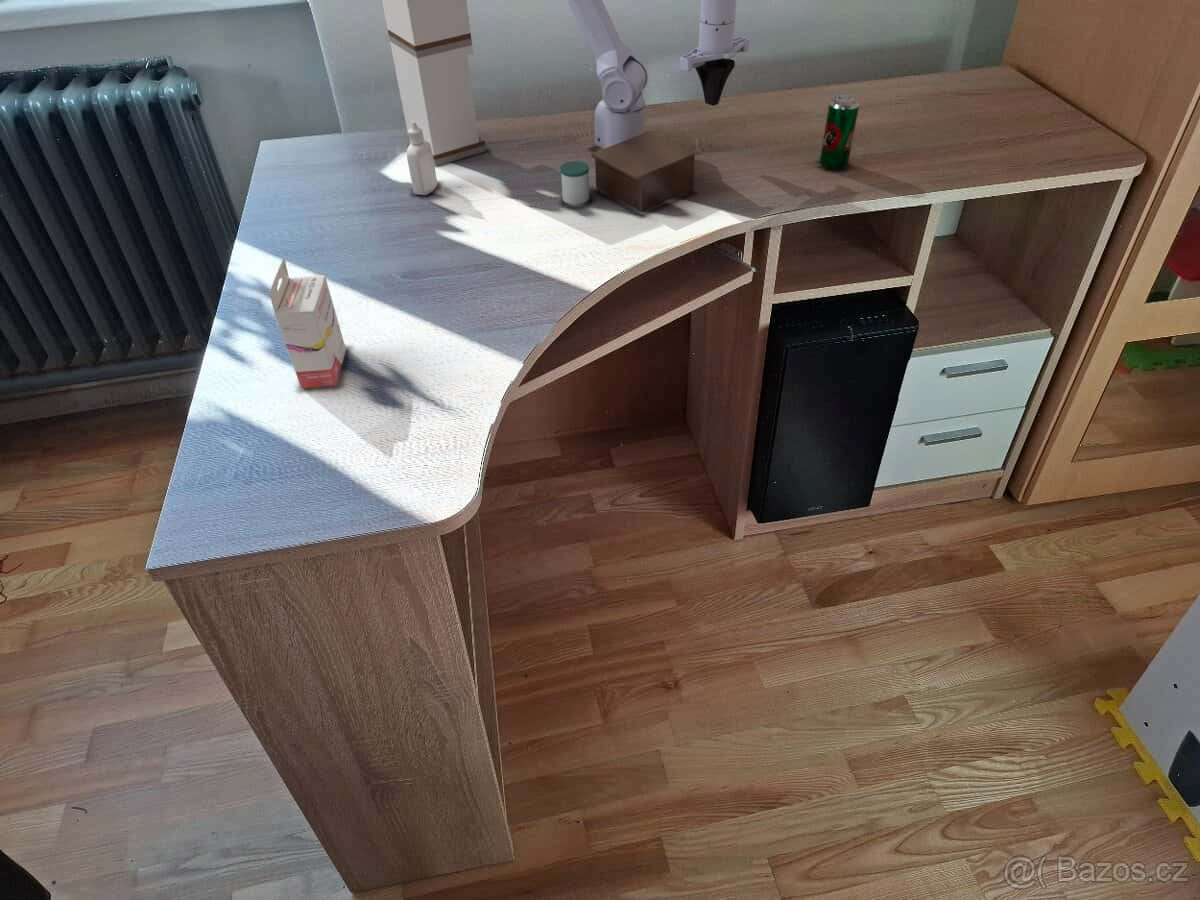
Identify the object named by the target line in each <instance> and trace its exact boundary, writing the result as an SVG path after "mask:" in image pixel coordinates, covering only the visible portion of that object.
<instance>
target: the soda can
mask: <svg viewBox="0 0 1200 900" xmlns="http://www.w3.org/2000/svg"><path fill="white" fill-rule="evenodd" d="M859 109H860V104H859V98H858V97H857V96H856V95H854V94H850V93H838V94H835V95H833V96H832V98H831V100H830V101H829V103H828V109H827V115H826V121H825V126H824V132H823V138H822V144H821V151H820V157H819V164H820V166H821V167H822V168H823V169H826V170H829V171H841V170H844V169H845V168H846V167H847V166H848V165H849V161H850V156H851V151H852V146H853V141H854V135H855V129H856V124H857V119H858V114H859Z"/></svg>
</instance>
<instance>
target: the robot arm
mask: <svg viewBox="0 0 1200 900" xmlns="http://www.w3.org/2000/svg"><path fill="white" fill-rule="evenodd" d="M566 2H567V4H568V6H569V9H570V10H571V12H572V14H573V16H574V18H575V20H576V22H577V24H578V27H579V28H580V30H581V32H582V34H583V36H584V38H585V40H586V41H587V44H588V46H589V48H590V49H591V52H592V54H593V57H594V58H595V60H596V76H597V79H598V81H599V83H600V86H601V97H602V99H601V100H600V101H599V102H598V104H597V106H596V107H595V111H594V117H593V118H594V119H593V120H594V145H595V146H597V147H599V148H601V149H605V148H607V147H610V146H612V145H615V144H617V143H620V142H623V141H625V140H628V139H630V138H633V137H635V136H638V135H641V134H643V133H646V132H645V131H646V129H645V128H646V100H645V98H644V95H643V93H642V92H643V90H644V89H645V88H646V86H647V83H648V79H649V76H648V75H649V73H648V70H647V68H646V65H644V63H643V62H642V61H640V60H639V59H638V58H637V57H636V56H635V54H634V52H633V50H632V48H631V47H630V46H628V45H626V44H625V43H624V42H623V41H622V39H621V37H620V35H619V33H618V31H617V28H616V26H615V24H614V22H613V20H612V17H611V16H610V14H609V12H608V9H607V7H606V5H605V3H604V1H603V0H566ZM736 10H737V0H700V11H699V14H700V15H699V29H698V31H699V32H698V46H696V47H695V48H694V49H692V50H690V52H688V53H686V54H685V55H683V56H680V58H679V69H680V70H681V71H684V72H687V73H689V72H692V71H693V69H695V71H696V73H697V75H698V78H699V79H700V84H701V87H702V92H703V98H704V103H705V104H707V105H709V106H712V107H714V106H716V105H719V103H720V99H721V96H722V95H723V94H722V93H723V90H724V88H725V85H726V82H727V80H728V78H729V76H730V75H731V73H732V71H733V70H734V68H735V67H736V66H735V65H736V61H735V60H734V59H733V58H736V54H738V53H739V54H740V53H741V52H742V53H746V52H749V46H750V39H749V38H747V37H743V36H739V37H735V38H734V36H735V35H734V33H735V21H736V12H737V11H736Z"/></svg>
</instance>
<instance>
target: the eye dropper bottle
mask: <svg viewBox="0 0 1200 900" xmlns="http://www.w3.org/2000/svg"><path fill="white" fill-rule="evenodd" d="M408 135H409V137H408V140H410V142H409V145H408V147H407V149H406V160H407V166H408V170H409V175H410V180H411V186H412V192H413V194H414V195H416V196H417V195H418V196H427V195H429V194H431V193H432V192H433V191H434V190H435V189H436V188H437V186H438V177H437V173H436V166H435V165H434V160H433V155H432V149H431V145H430V143H429V142H428V141H425V140H424V137H423V131H422V129H421V128H418V127H417V124H416V122H415V121H413V122H411V129H409V130H408V132H407V136H408Z"/></svg>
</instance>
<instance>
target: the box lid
mask: <svg viewBox="0 0 1200 900" xmlns="http://www.w3.org/2000/svg"><path fill="white" fill-rule="evenodd" d="M590 156H591V158H593V159H594V160H595V159H597V160H598V161H600V162H602V163H604V164H606V165H608V166H610V167H612V168H614V169H616V170H618V171H620V172H622V173H624V174H626V175H628V176H630V177H632V178H634V179H636V180H640V179H643V178H645V177H647V176H650V175H652V174H654V173H657V172H659V171H662V170H664V169H666V168H669V167H671V166H673V165H676V164H678V163H681V162H683V161H685V160H688V159H690V158H693V157H696V154H695V152H693V151H691V150H688V149H687V148H684V147H682V146H679V145H677V144H676V143H673V142H671V141H668V140H666V139H664V138H662V137H660V136H658V135H656V134H653V133H651V132H649V131H646V132H645V133H643V134H641V135H638V136H635V137H633V138H630V139H628V140H625V141H623V142H620V143H617V144H615V145H612V146H610V147H607V148H605V149H603V148H601V149H599V150H597V151H594V152H591V153H590Z"/></svg>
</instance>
